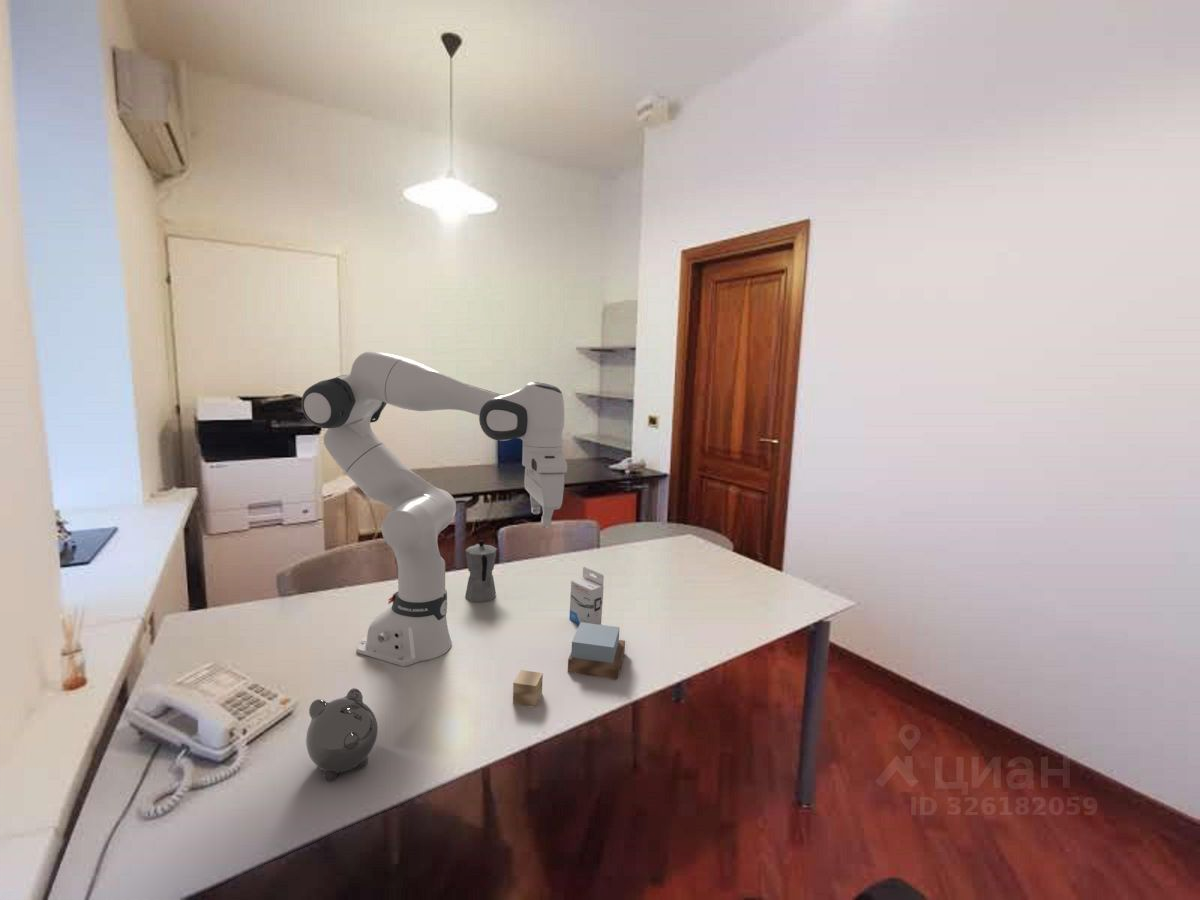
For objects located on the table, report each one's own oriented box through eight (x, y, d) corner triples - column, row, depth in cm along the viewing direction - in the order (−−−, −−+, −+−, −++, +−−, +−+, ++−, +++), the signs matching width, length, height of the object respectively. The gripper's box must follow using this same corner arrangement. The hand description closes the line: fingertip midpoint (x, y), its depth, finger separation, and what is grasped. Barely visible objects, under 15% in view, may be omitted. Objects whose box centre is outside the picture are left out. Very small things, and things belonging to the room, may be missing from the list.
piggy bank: (363, 728, 106) (362, 674, 104) (388, 775, 94) (387, 715, 92) (299, 751, 99) (296, 693, 97) (317, 805, 87) (315, 741, 85)
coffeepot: (463, 588, 172) (463, 534, 169) (493, 586, 175) (494, 532, 172) (467, 610, 157) (468, 550, 154) (500, 606, 160) (501, 548, 158)
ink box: (568, 619, 155) (570, 570, 152) (580, 614, 158) (582, 566, 156) (589, 630, 149) (592, 579, 147) (602, 624, 152) (604, 574, 150)
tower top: (571, 657, 128) (571, 641, 128) (579, 636, 138) (580, 622, 137) (612, 663, 127) (613, 647, 126) (618, 641, 136) (619, 627, 136)
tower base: (567, 674, 128) (568, 659, 128) (578, 649, 140) (578, 634, 139) (617, 681, 126) (618, 666, 126) (624, 655, 138) (625, 640, 137)
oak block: (512, 704, 115) (513, 682, 115) (520, 690, 120) (520, 669, 119) (535, 707, 115) (536, 686, 114) (542, 694, 119) (542, 673, 119)
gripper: (518, 450, 127) (517, 507, 129) (539, 466, 108) (537, 533, 110) (544, 450, 129) (543, 506, 131) (570, 466, 110) (567, 531, 112)
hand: (540, 519), depth 120 cm, fingers open, 8 cm apart
